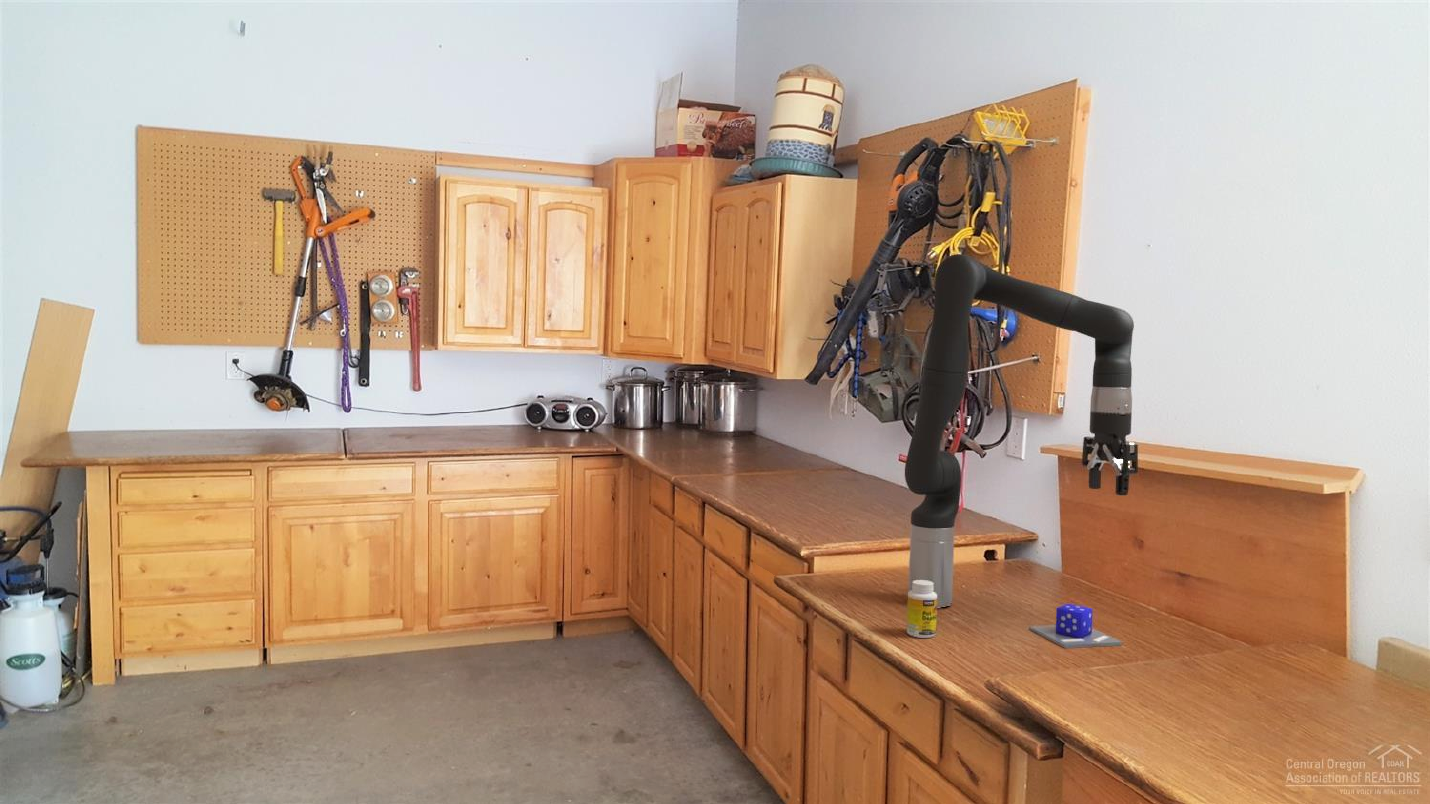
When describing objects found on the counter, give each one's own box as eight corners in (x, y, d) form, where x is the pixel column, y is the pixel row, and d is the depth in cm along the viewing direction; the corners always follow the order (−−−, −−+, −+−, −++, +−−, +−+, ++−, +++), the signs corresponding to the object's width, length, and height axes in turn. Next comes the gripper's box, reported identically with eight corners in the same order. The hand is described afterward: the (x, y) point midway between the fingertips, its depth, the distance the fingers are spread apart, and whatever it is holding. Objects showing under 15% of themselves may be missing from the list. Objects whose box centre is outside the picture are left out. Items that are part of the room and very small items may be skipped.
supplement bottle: (921, 641, 170) (923, 587, 170) (900, 633, 175) (901, 580, 174) (942, 636, 173) (944, 583, 173) (920, 629, 178) (922, 577, 177)
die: (1066, 628, 178) (1067, 603, 178) (1092, 634, 174) (1093, 608, 174) (1055, 633, 174) (1056, 607, 174) (1081, 639, 171) (1082, 613, 171)
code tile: (1029, 629, 179) (1029, 625, 179) (1082, 626, 181) (1083, 623, 181) (1065, 648, 167) (1065, 644, 167) (1122, 645, 170) (1122, 641, 170)
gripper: (1072, 408, 185) (1069, 487, 185) (1116, 412, 171) (1113, 497, 172) (1105, 408, 186) (1102, 486, 187) (1151, 412, 172) (1148, 497, 173)
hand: (1107, 491), depth 179 cm, fingers open, 8 cm apart
